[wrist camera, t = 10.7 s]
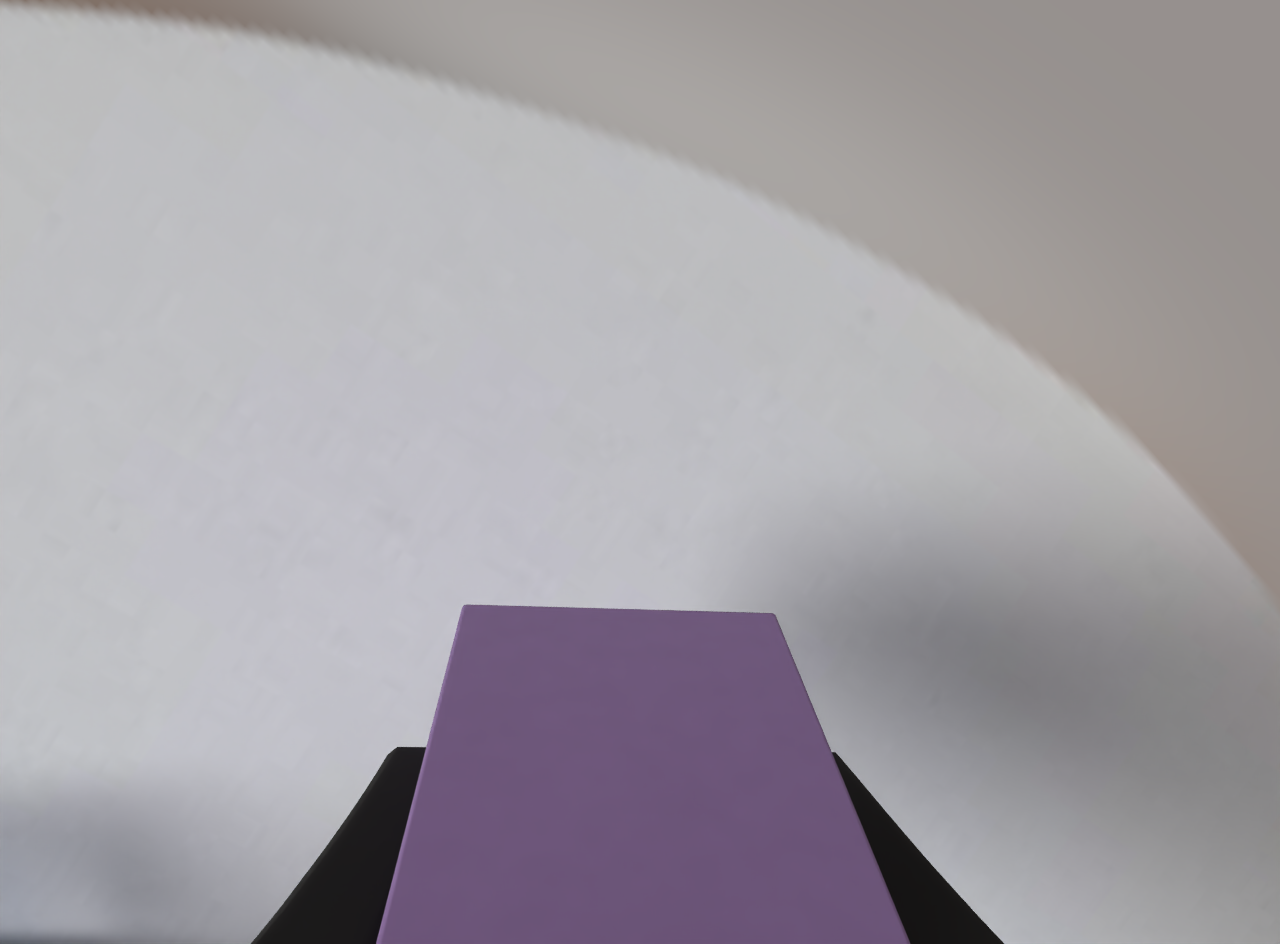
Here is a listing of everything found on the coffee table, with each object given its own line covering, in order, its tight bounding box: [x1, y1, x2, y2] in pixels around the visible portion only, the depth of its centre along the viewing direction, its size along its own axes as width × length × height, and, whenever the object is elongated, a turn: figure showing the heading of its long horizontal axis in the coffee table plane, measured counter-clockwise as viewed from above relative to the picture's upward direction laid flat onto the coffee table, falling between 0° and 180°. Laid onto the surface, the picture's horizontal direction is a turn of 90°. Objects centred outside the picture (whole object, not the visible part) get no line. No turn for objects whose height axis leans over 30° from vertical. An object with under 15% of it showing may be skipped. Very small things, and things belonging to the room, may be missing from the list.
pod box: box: [376, 605, 910, 944], centre depth 9 cm, size 4×4×5 cm
